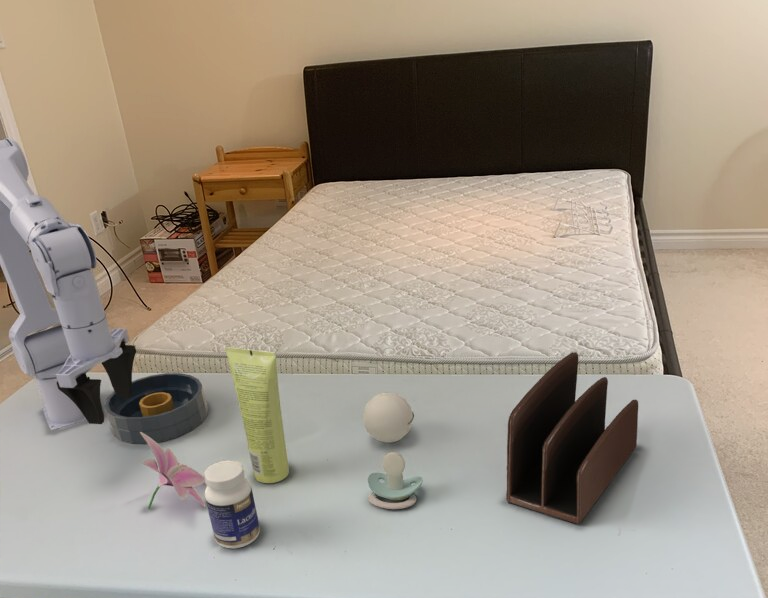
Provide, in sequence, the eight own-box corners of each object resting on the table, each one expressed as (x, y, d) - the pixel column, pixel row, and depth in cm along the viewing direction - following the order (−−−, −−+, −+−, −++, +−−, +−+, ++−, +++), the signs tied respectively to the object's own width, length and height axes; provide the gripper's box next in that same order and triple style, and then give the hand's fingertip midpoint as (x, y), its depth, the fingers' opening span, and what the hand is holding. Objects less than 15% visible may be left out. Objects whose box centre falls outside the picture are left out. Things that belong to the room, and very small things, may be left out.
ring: (141, 417, 125) (136, 398, 123) (171, 408, 126) (166, 389, 125) (149, 430, 121) (143, 410, 119) (179, 420, 123) (174, 400, 121)
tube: (289, 460, 110) (267, 337, 100) (297, 478, 106) (275, 351, 96) (251, 470, 109) (224, 346, 99) (258, 489, 105) (231, 361, 95)
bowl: (96, 426, 124) (88, 399, 122) (176, 390, 133) (170, 365, 131) (143, 457, 115) (134, 429, 112) (226, 416, 123) (220, 389, 121)
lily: (181, 544, 97) (204, 478, 95) (97, 509, 97) (118, 443, 95) (214, 513, 109) (234, 453, 106) (138, 481, 109) (158, 421, 107)
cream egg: (409, 453, 109) (405, 409, 105) (359, 450, 111) (354, 406, 107) (423, 418, 117) (420, 376, 113) (377, 416, 119) (372, 374, 115)
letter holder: (505, 503, 97) (504, 407, 90) (569, 430, 110) (572, 342, 103) (579, 526, 92) (584, 426, 85) (637, 447, 105) (645, 355, 98)
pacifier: (415, 515, 97) (426, 487, 101) (410, 475, 93) (423, 448, 98) (360, 508, 99) (375, 481, 104) (355, 469, 96) (370, 443, 100)
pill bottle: (251, 551, 93) (236, 485, 88) (208, 548, 94) (191, 483, 89) (267, 522, 98) (253, 458, 93) (225, 520, 99) (210, 456, 94)
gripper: (79, 343, 94) (109, 436, 101) (137, 299, 106) (160, 385, 113) (30, 342, 96) (62, 434, 103) (93, 299, 108) (118, 384, 115)
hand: (111, 408), depth 108 cm, fingers open, 7 cm apart
